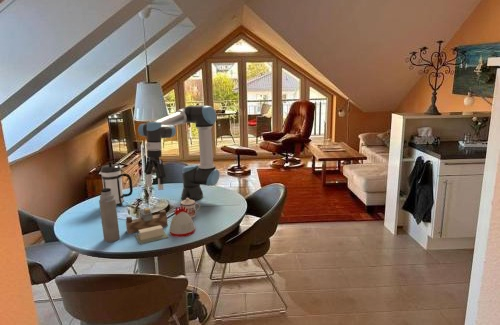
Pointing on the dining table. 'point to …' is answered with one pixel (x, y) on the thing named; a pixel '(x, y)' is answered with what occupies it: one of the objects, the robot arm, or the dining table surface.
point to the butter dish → (151, 234)
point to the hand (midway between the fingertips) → (154, 187)
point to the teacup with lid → (190, 207)
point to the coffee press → (115, 181)
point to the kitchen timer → (181, 223)
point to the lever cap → (146, 214)
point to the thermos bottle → (109, 216)
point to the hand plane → (146, 222)
